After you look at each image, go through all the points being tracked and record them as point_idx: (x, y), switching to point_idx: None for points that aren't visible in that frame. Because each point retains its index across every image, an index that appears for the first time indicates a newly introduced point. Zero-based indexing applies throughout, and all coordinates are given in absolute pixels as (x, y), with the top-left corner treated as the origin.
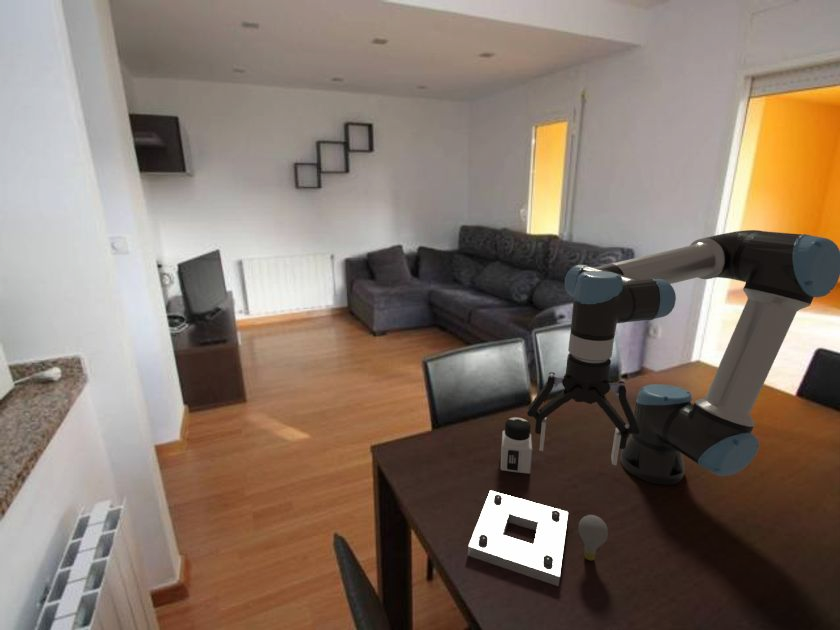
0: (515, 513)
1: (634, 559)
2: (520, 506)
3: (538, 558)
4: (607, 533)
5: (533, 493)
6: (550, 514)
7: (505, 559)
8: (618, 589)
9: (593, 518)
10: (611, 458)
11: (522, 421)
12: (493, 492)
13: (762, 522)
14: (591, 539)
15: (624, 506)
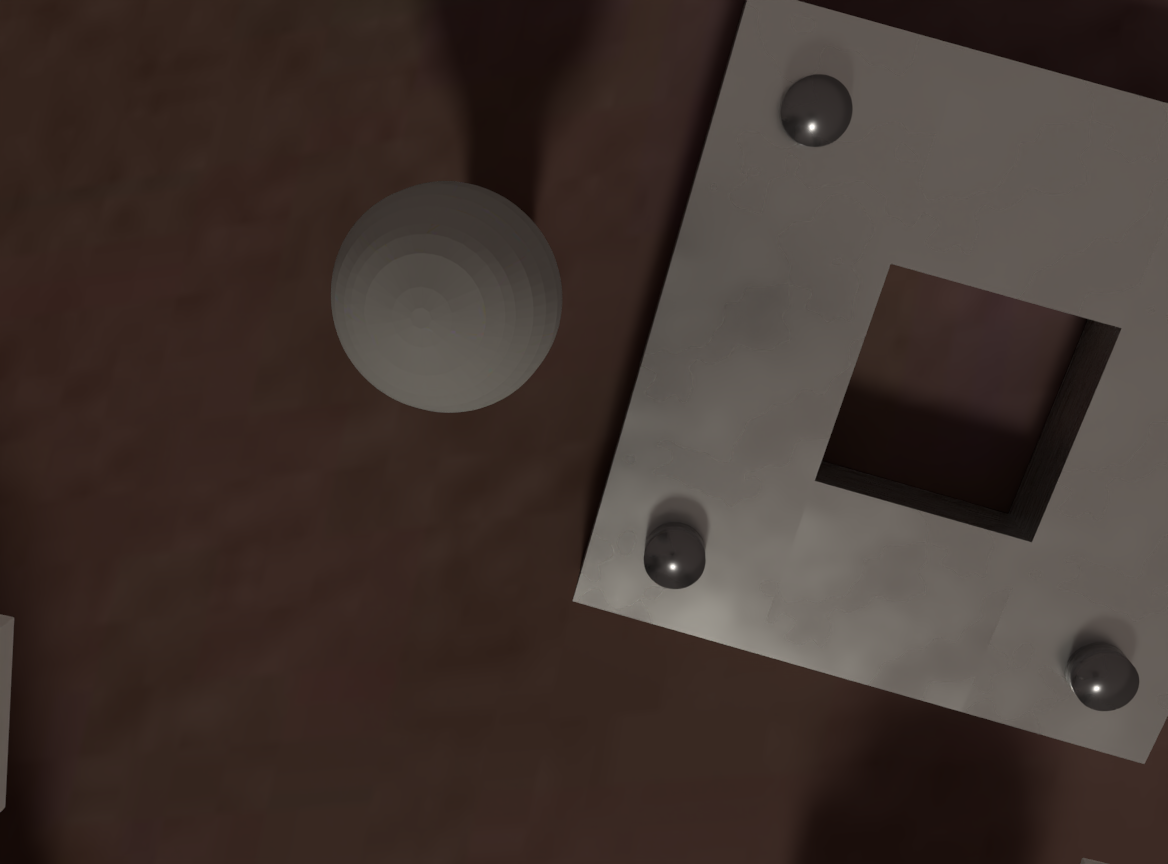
0: (978, 548)
1: (208, 292)
2: (926, 620)
3: (878, 133)
4: (340, 249)
5: (774, 795)
6: (709, 563)
7: (1135, 94)
8: (358, 37)
9: (430, 320)
10: (2, 755)
11: None
12: (1120, 745)
13: None
14: (481, 188)
15: (178, 725)
